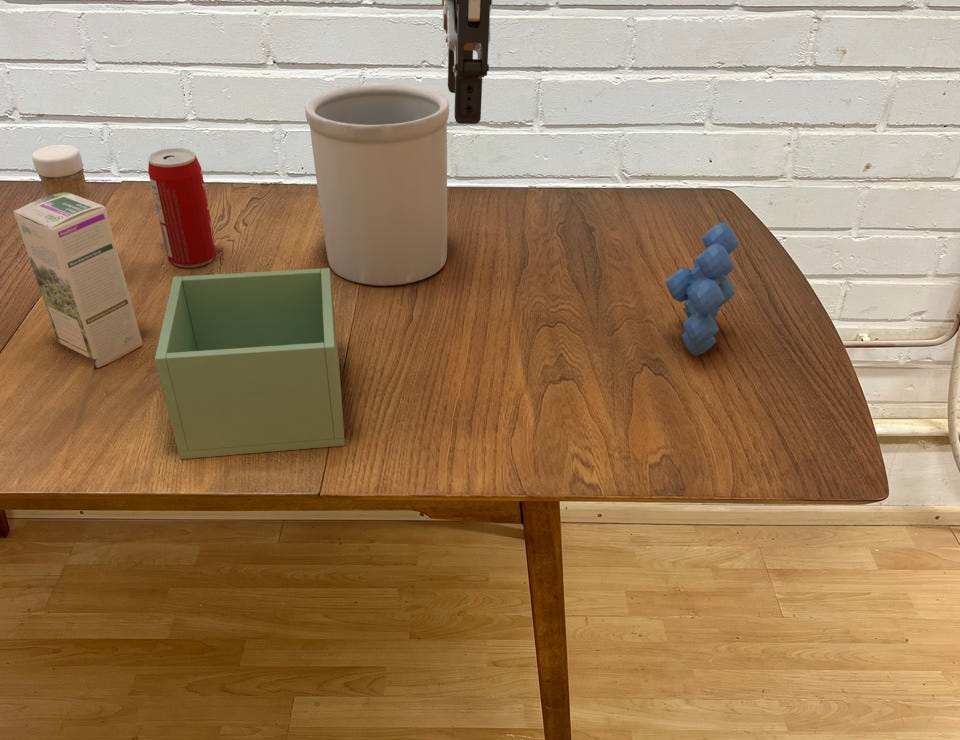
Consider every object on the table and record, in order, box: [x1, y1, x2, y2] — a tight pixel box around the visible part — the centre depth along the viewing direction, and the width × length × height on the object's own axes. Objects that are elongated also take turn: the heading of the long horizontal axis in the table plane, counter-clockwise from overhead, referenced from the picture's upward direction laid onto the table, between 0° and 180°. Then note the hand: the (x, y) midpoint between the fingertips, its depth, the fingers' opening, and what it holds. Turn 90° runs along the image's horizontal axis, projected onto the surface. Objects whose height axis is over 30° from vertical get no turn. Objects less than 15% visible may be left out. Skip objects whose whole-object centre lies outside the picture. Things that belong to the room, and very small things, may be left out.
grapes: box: [665, 221, 739, 357], centre depth 86 cm, size 12×7×12 cm, turn 161°
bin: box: [154, 267, 346, 460], centre depth 77 cm, size 14×14×10 cm
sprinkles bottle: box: [31, 144, 92, 201], centre depth 95 cm, size 5×5×13 cm
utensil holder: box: [304, 82, 450, 287], centre depth 97 cm, size 15×15×18 cm
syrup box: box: [12, 192, 144, 369], centre depth 82 cm, size 6×6×14 cm
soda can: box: [147, 147, 217, 269], centre depth 98 cm, size 6×6×12 cm
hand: (463, 106), depth 80 cm, fingers open, 8 cm apart
